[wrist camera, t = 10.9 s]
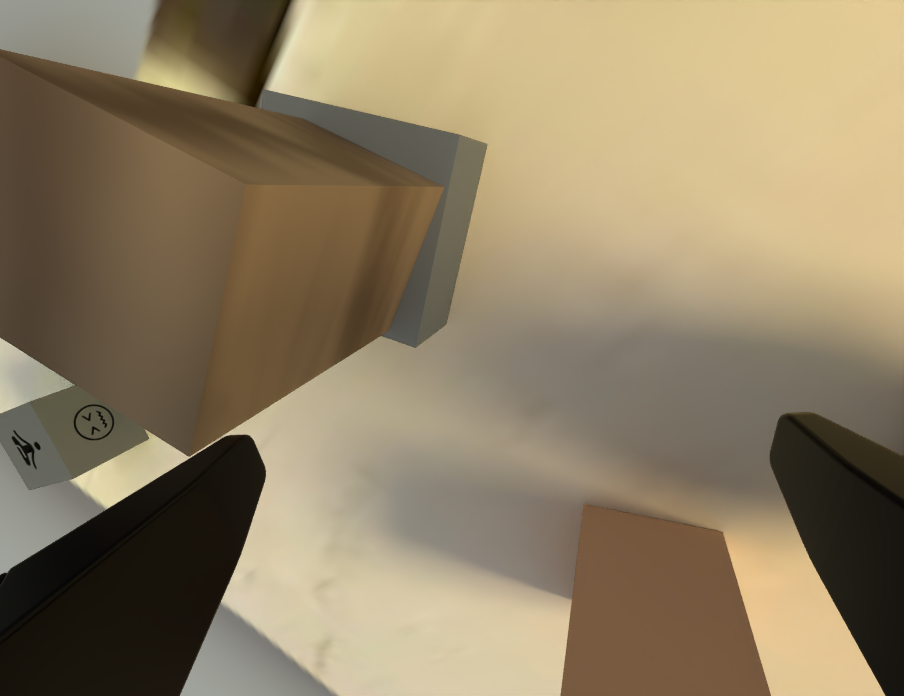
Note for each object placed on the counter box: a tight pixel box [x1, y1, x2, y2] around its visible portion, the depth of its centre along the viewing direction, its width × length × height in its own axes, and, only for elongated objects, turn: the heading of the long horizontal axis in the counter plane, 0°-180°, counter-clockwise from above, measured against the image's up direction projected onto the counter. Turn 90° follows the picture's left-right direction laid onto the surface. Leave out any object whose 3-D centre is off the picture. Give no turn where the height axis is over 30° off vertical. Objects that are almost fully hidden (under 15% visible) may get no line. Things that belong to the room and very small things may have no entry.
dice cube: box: [0, 385, 149, 490], centre depth 30 cm, size 5×5×5 cm
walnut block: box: [0, 49, 444, 456], centre depth 14 cm, size 6×6×10 cm
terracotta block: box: [561, 504, 771, 696], centre depth 18 cm, size 6×6×10 cm
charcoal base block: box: [262, 89, 487, 348], centre depth 20 cm, size 8×8×4 cm
